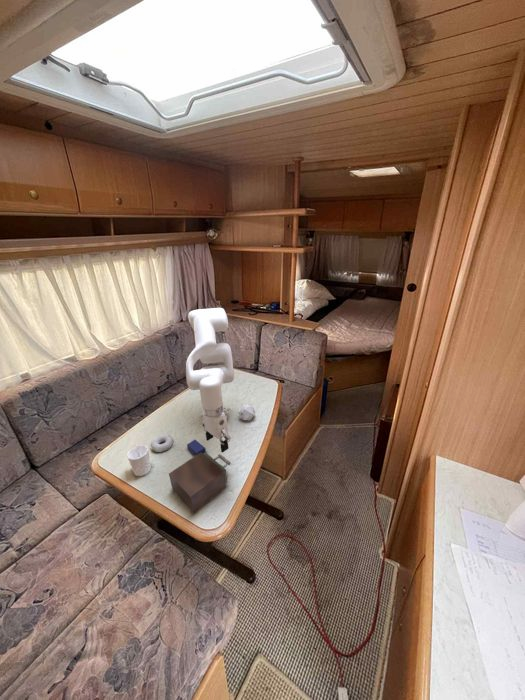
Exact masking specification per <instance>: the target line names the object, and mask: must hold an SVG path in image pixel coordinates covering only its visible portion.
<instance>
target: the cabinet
mask: <svg viewBox="0 0 525 700" xmlns="http://www.w3.org/2000/svg"><path fill="white" fill-rule="evenodd" d="M168 477H169V482H170V485H171V489H172V491H173V492H174V494H175V495H176V496H177V497H178V498H179V500H180V501H182V502H183V504H184V505H185V506H186V507H187V509H189V511H190V512H191V513H192V514H196V513H197V512H198V511H199V510H201V509H202V508H203V507H204V506H206V504H208V503H209V502H210V501H211V500H213V499H214V498H215V497H216V496H217V495H219V494H220V493H221V492H222V491H224V490H225V489H226V484H225V479H224V471H223V470H221V469H220V468H219V467H218V466H217V465H216V464H214V463H213V462H212V461H211V460H210V459H209V458H207V457H206V456H205V455H204V454H203V453H202V452H201V453H199V454H198V455H196V456H195V455H194V456H193V457H191V458H190V459H188V460H187V461H186V462H184V463H182V464H181V465H179V466H178V467H176V468H175V469H173V470H172V471H170V472H169V473H168Z"/></svg>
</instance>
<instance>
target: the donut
mask: <svg viewBox="0 0 525 700" xmlns="http://www.w3.org/2000/svg"><path fill="white" fill-rule="evenodd" d="M173 443H174V438H173V437H172V436H171V435H169V434H159V435H158V436H156V437H155V438H153V439H152V441H151V444H150V448H151V450H153V451H154V452H155V453H162V452H166V451H167V450H169V449H170V448H171V447H172V446H173Z"/></svg>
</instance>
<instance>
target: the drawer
mask: <svg viewBox="0 0 525 700" xmlns="http://www.w3.org/2000/svg"><path fill="white" fill-rule="evenodd" d="M204 455H205V456H206V457H207V458H209V459H210V460H211V461H212V462H213V463H214V464H216V465H217V466H218V467H219V468H220V469H221V470H223V471H224V479H225V485H226V484H228V482H229V481H228V472H227V469H226V467H227V466H230V465H231V464H232V463H231V461H230V460H229V459H227V458H226V457H225V456H223V455H222V454H221V453H218V454H217V456H216V457H214V458H213V457H212V456H211V455H209V453H207V451H206V452H205V453H204ZM218 459H220V460H221V461H222V462H224V463H225V464H224V465H221V464H220V463H219V462H218V461H217V460H218Z"/></svg>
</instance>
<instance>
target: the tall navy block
mask: <svg viewBox="0 0 525 700" xmlns="http://www.w3.org/2000/svg"><path fill="white" fill-rule="evenodd" d="M186 446H187V450H188V451H189V452H190V453H191V454H192V455H194V457H195V456H196V455H198V454H199V453H201V452H202V453H203V454H204V453H205V452H206V453H207V451H206V447H205V446H204V445H203V444H201V443H200V441H198V440H197V439H193V440H191V441H190V442H188V443H186Z"/></svg>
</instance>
